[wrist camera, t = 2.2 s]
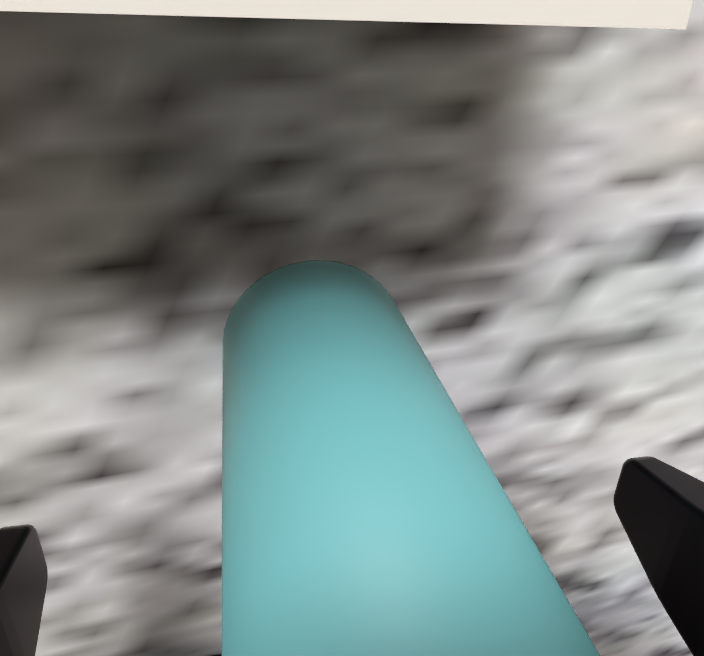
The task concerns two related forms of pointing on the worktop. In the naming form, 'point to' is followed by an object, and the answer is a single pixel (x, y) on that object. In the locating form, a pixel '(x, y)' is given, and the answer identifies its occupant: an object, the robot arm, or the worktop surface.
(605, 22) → the peg box
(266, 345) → the peg
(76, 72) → the worktop surface
